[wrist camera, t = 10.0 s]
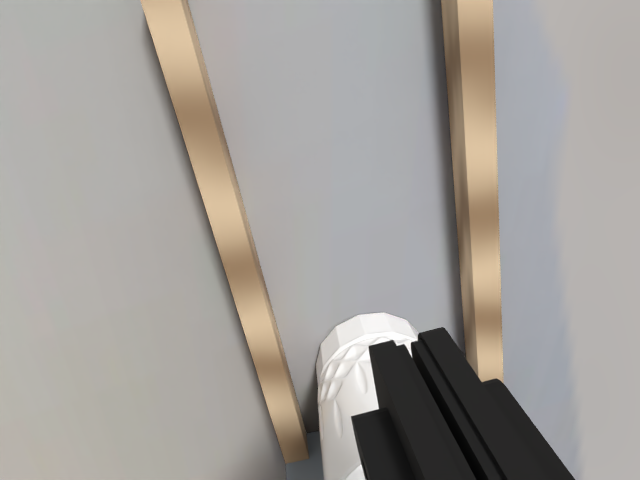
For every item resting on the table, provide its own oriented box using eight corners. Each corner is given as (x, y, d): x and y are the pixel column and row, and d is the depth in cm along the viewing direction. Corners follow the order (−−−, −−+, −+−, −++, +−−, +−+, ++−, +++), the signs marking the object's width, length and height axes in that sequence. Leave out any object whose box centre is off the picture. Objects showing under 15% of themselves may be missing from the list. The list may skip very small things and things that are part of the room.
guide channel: (490, 392, 32) (504, 414, 30) (284, 438, 32) (285, 463, 30) (470, -85, 21) (490, -94, 19) (145, -18, 20) (133, -21, 19)
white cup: (413, 409, 32) (473, 563, 23) (296, 402, 31) (311, 562, 22) (447, 309, 29) (532, 441, 20) (319, 295, 28) (348, 431, 19)
